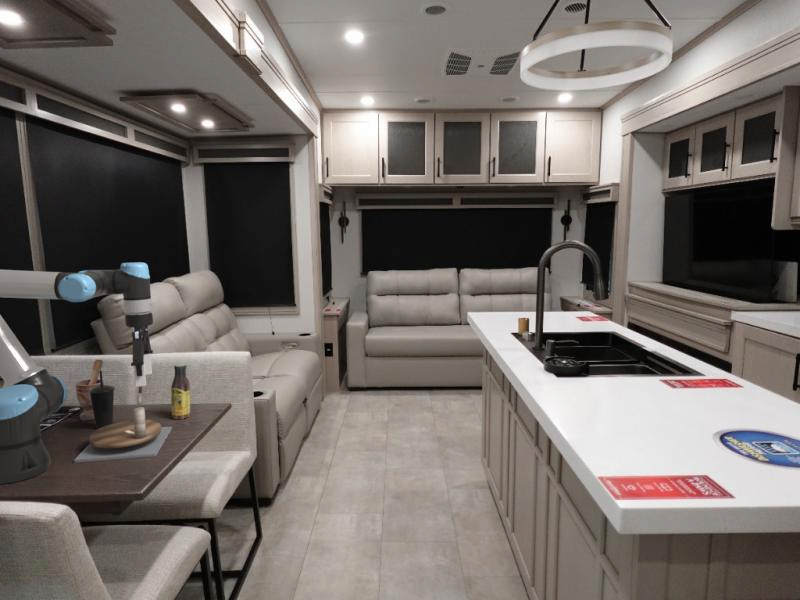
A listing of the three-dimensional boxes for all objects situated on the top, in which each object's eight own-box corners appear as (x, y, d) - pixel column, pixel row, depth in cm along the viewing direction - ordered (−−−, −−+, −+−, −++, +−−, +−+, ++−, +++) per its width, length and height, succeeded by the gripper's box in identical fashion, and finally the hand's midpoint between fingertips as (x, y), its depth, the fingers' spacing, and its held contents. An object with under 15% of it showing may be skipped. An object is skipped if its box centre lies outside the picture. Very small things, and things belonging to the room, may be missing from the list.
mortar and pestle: (82, 411, 187) (78, 359, 185) (109, 409, 191) (105, 357, 188) (75, 422, 177) (71, 367, 174) (103, 419, 180) (100, 365, 177)
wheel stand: (74, 462, 146) (74, 459, 146) (101, 433, 167) (101, 431, 167) (155, 456, 151) (155, 453, 151) (171, 428, 172) (171, 426, 172)
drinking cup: (122, 423, 176) (118, 368, 174) (107, 431, 169) (103, 374, 166) (101, 422, 177) (98, 367, 174) (86, 430, 169) (82, 373, 167)
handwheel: (77, 444, 156) (74, 406, 154) (139, 424, 173) (137, 390, 171) (111, 460, 145) (109, 420, 144) (174, 437, 162) (172, 401, 160)
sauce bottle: (168, 418, 182) (165, 365, 179) (182, 413, 187) (180, 361, 185) (180, 421, 179) (177, 367, 176) (194, 416, 184) (192, 363, 182)
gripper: (146, 318, 143) (152, 389, 146) (157, 306, 166) (161, 368, 169) (116, 320, 140) (123, 392, 143) (131, 308, 164) (137, 370, 167)
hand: (144, 379), depth 156 cm, fingers open, 13 cm apart
